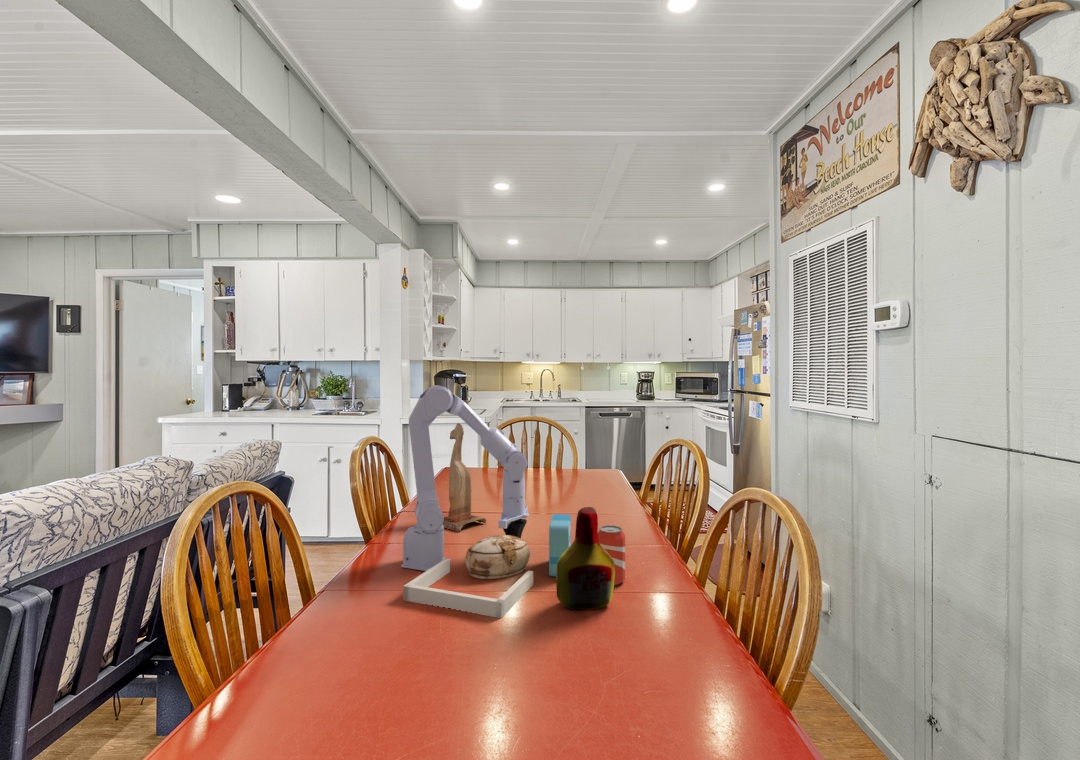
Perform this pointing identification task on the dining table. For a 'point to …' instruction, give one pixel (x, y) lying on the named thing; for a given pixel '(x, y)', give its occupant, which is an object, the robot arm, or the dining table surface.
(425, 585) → the display bay
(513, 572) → the trinket box
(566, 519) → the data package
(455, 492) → the bird sculpture
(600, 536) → the beverage can
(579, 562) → the bottle
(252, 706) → the dining table surface
